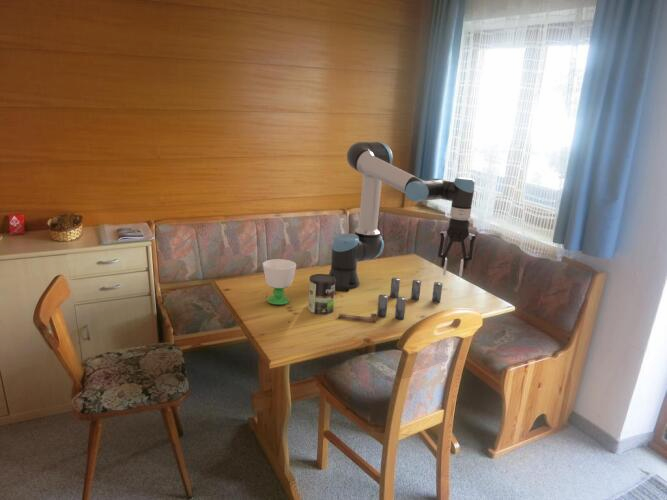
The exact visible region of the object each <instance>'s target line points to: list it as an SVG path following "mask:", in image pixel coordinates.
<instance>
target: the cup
mask: <svg viewBox="0 0 667 500" xmlns="http://www.w3.org/2000/svg"><path fill="white" fill-rule="evenodd" d="M262 267H263V272H264V277H265V278H264V279H265V283H266V285H267V286H269V287H270V288H272V289H273V291H272V294H273V296H270V297H268V298H267V302H268V303H269V304H273V305H285V304H288V303H290V298H289V297H286V296H284V295H285V290H284V289H287V288H289V287H290V286H291V285H292V284H293V281H294V277H295V272H296V269H297V263H296V262H294V261H293V260H289V259H283V258H282V259H281V258H279V259H278V258H276V259H275V258H274V259H268V260H265V261H263V262H262Z"/></svg>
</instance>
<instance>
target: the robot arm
mask: <svg viewBox="0 0 667 500" xmlns="http://www.w3.org/2000/svg"><path fill="white" fill-rule="evenodd" d="M393 157H394V156H393V152H392V150H391V148H390V146H389V145H388V144H386V143H384V142H380V141H379V142H378V141H358V142H355V143H353V144H352V145H350V147H349V148H348V149H347V152H346V161H347V163H348V164H349V167H351V168H352V169H353V170H355V171H357V172H358V173H361V175H362V182H361V183H362V185H361V195H360V196H361V198H360V208H359V209H360V210H359V220H358V221H359V222H358V227H357V228H356V229H355V230H354V233H341V234H338V235H336V236H334V238H333V239H332V244H331V263H330V270H329V273H328V275H331V276H334V277H335V278H336V281H335V291H343V292H344V291H345V292H346V291H348V292H349V291H350V290H354V289H357V288H358V287H359V286H360V280H359V275H358V272H357V267H358V262H362V261H363V262H364V261H367V260H368V261H369V260H373V259H375V258H377V257H379V256H381V254H382V253H383V250H384V247H385V241H384V240H383V237H382V235H381V231H380V230H379V229H378V224H379V212H380V205H381V204H380V203H381V194H382V193H381V192H382V182H383V183H384V184H387V185H388V186H389V187H392V188H394V189H396V190H398V191H399V192H401V193H403V194H405V196H406V198H407V200H409V201H411V202H417V203H419V202H425V201H435V200H445V201H449V202H451V206H450V214H449V215H450V218H449V222H448V227H447V230H446V231H439V235H440V240H439V244H438V245H439V246H438V251H437V257H438V258H441V262H440V263H441V267H443V270H442V276H446V273H447V265H448V258H447V256H448V253H449V252H450V249H451V247H452V246H453V243H455V242H456V243H460V246H461V252H462V253H461V254H462V259H460V265H459V271H458V272H459V273H458V276H459V277H460V278H462V277H463V272H464V271H463V270H464V269H466V268H467V262H468V261H472V260H473V251H474V242H475V240H476V235H475V234H473V233H470V231H469V227H470V221H471V220H470V219H471V212H472V204H473V198H474V192H475V182H476V181H475V180H474V179H473V178H469V177H464V176H462V177H455V179H454V181H453V180H446V179H441V178H430V179H428V180H423V179H421V178H419V177H417V176H415V175H413V174H411V173H409V172H407V171H405V170H403V169H401V168H400V167H397V166H395V165H393V164H392V163H393V160H394V159H393ZM446 236H448V238H449V240H448V242H447V244H446V246H445V247H444V242H445V238H446ZM467 238H468V239H469V245H468V255H467V252H466V245H465V240H466V239H467ZM443 247H444V248H445V249H444V251H443Z"/></svg>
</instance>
